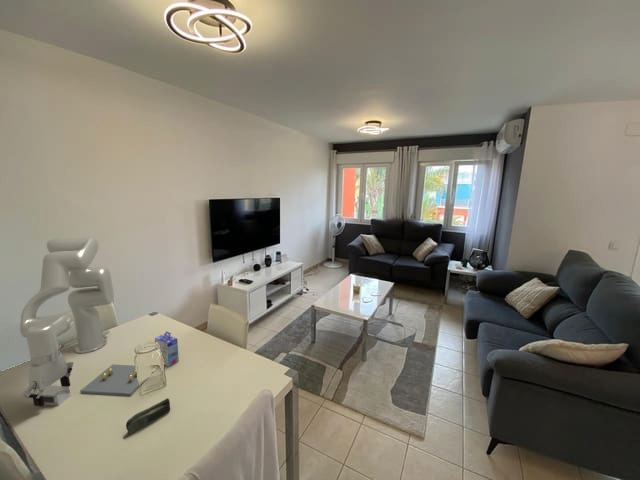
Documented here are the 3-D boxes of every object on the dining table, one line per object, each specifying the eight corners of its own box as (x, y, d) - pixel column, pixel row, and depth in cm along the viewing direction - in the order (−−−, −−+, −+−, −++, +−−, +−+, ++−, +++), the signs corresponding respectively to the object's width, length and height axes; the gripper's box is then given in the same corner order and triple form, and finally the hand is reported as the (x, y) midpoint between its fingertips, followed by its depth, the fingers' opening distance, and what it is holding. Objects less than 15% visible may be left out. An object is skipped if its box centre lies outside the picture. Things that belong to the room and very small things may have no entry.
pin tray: (113, 366, 121) (111, 358, 120) (156, 369, 120) (156, 361, 120) (80, 393, 106) (79, 384, 105) (130, 396, 105) (129, 387, 104)
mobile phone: (167, 396, 100) (120, 422, 88) (170, 400, 98) (123, 427, 86) (168, 407, 100) (121, 434, 89) (171, 411, 99) (124, 439, 87)
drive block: (51, 395, 104) (49, 385, 103) (70, 396, 104) (68, 386, 103) (38, 404, 100) (36, 394, 99) (58, 406, 99) (56, 395, 98)
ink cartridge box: (179, 360, 127) (177, 333, 124) (169, 367, 122) (166, 339, 119) (166, 354, 131) (164, 328, 128) (155, 360, 126) (153, 333, 123)
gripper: (59, 342, 106) (66, 379, 110) (8, 371, 89) (17, 413, 93) (77, 343, 106) (83, 380, 109) (29, 372, 89) (38, 414, 92)
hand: (53, 395), depth 101 cm, fingers open, 9 cm apart
